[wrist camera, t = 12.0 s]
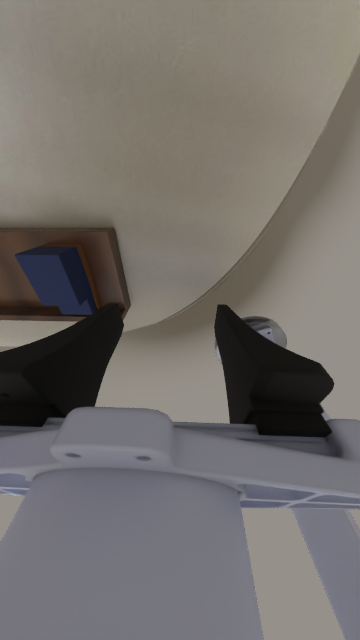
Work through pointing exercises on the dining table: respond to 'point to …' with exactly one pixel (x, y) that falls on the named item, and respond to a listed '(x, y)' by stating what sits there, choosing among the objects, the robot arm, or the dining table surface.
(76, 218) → the dining table surface
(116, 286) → the shelf
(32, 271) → the navy block wooden base
